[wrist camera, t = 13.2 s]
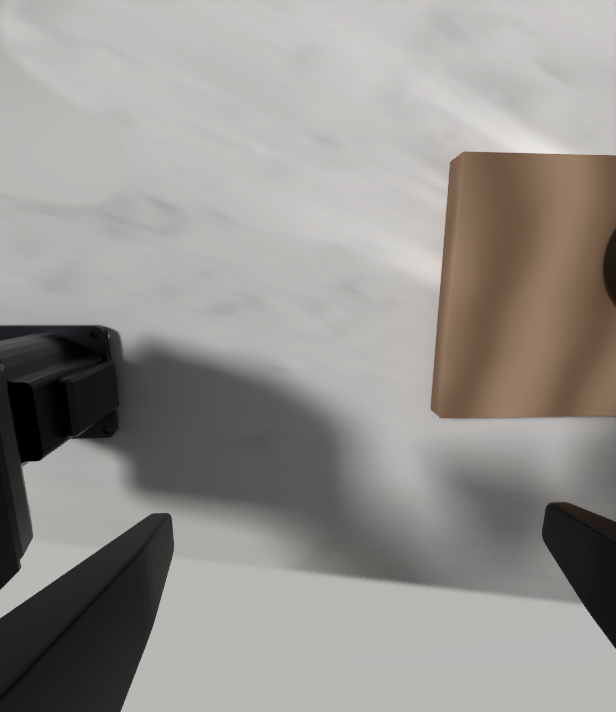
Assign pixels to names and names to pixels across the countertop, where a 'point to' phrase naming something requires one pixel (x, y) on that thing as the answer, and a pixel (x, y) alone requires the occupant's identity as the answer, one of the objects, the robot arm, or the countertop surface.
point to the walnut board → (526, 288)
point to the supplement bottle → (610, 267)
